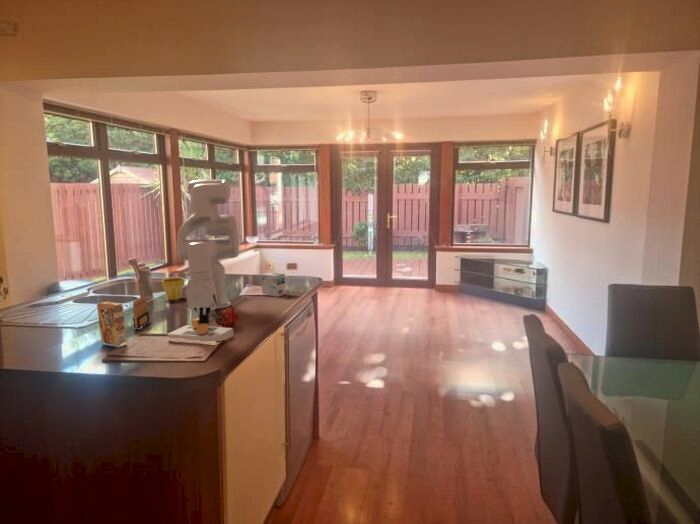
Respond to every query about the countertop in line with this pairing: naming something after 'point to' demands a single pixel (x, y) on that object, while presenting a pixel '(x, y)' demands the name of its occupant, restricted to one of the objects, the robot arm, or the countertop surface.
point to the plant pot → (173, 288)
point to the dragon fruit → (227, 317)
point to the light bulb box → (273, 284)
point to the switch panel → (211, 335)
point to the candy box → (111, 323)
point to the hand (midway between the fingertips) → (204, 324)
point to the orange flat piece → (140, 312)
